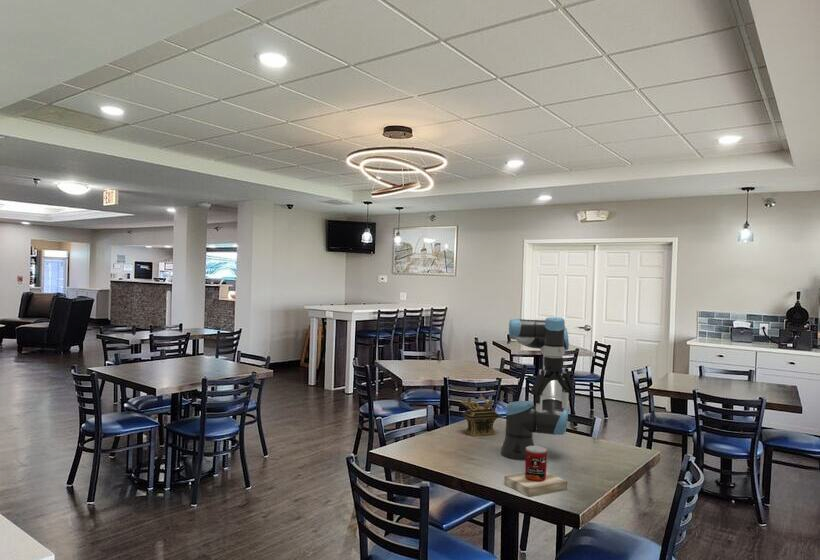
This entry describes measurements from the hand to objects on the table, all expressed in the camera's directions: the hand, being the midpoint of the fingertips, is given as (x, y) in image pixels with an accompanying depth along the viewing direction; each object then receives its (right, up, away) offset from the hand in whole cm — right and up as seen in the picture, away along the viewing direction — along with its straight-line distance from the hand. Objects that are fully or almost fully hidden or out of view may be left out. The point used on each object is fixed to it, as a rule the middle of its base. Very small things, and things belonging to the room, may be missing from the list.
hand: (552, 410), depth 221 cm
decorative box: (-23, -26, +59) cm, 69 cm away
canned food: (-10, -22, -15) cm, 28 cm away
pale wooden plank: (-10, -25, -15) cm, 31 cm away
